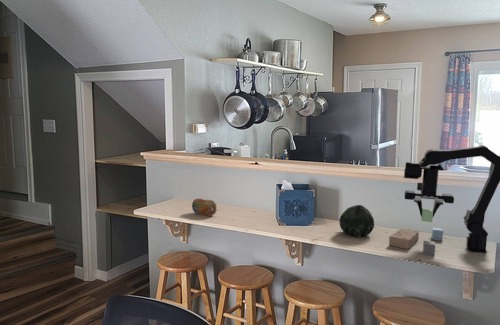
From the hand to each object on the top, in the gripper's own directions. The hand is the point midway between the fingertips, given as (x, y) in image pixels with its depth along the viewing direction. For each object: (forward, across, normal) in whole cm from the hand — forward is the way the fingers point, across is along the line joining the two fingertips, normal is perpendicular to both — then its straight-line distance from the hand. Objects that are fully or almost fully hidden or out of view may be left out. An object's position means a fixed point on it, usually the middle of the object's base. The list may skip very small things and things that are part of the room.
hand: (426, 216), depth 182 cm
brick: (+13, +8, 0) cm, 15 cm away
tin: (+15, +107, -14) cm, 109 cm away
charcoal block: (+12, -1, +11) cm, 16 cm away
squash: (+13, +28, -5) cm, 31 cm away
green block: (+2, 0, 0) cm, 2 cm away
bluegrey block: (+12, -6, -10) cm, 17 cm away
